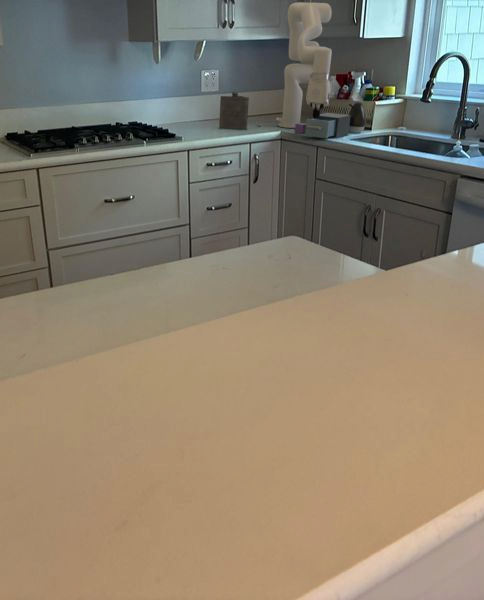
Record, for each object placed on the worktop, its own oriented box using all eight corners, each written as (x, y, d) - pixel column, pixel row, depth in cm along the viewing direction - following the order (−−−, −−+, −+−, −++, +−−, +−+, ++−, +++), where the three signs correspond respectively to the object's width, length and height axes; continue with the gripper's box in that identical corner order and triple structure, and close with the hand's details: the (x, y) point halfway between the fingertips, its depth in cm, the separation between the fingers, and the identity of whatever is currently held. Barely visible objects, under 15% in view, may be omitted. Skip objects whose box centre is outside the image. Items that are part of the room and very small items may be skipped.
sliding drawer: (322, 139, 286) (324, 122, 283) (300, 136, 292) (302, 119, 289) (338, 135, 300) (340, 118, 297) (317, 132, 306) (318, 116, 303)
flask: (219, 127, 319) (221, 91, 312) (247, 128, 317) (249, 92, 310) (218, 128, 316) (220, 91, 309) (246, 129, 314) (248, 92, 307)
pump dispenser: (339, 131, 319) (343, 100, 313) (355, 130, 323) (359, 100, 317) (352, 134, 310) (356, 102, 304) (368, 133, 314) (372, 102, 308)
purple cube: (294, 133, 309) (295, 123, 307) (298, 132, 312) (299, 122, 310) (302, 134, 307) (303, 124, 305) (306, 133, 310) (307, 123, 308)
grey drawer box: (336, 138, 297) (338, 117, 293) (312, 135, 304) (314, 115, 300) (348, 135, 308) (350, 115, 304) (325, 132, 315) (327, 112, 311)
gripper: (302, 76, 282) (297, 117, 289) (332, 78, 274) (327, 121, 282) (309, 75, 287) (305, 115, 295) (339, 77, 279) (334, 119, 287)
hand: (315, 118), depth 288 cm, fingers closed
